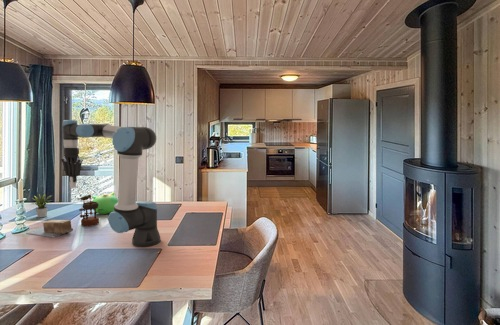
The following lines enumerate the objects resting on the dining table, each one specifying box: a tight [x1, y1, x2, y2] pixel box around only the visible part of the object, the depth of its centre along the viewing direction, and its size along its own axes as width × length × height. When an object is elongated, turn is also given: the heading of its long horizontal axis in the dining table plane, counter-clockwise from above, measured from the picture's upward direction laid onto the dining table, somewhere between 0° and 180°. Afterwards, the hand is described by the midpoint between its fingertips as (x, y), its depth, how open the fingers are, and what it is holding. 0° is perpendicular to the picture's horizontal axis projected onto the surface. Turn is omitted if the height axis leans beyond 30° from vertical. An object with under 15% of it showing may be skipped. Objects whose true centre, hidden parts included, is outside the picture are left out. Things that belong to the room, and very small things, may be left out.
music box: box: [76, 194, 104, 227], centre depth 201 cm, size 15×11×20 cm
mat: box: [26, 226, 74, 238], centre depth 186 cm, size 20×14×1 cm
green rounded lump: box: [91, 191, 118, 215], centre depth 225 cm, size 18×17×15 cm
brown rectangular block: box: [42, 219, 73, 234], centre depth 184 cm, size 6×6×14 cm
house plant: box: [31, 193, 53, 218], centre depth 213 cm, size 14×14×16 cm
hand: (73, 187), depth 178 cm, fingers closed
